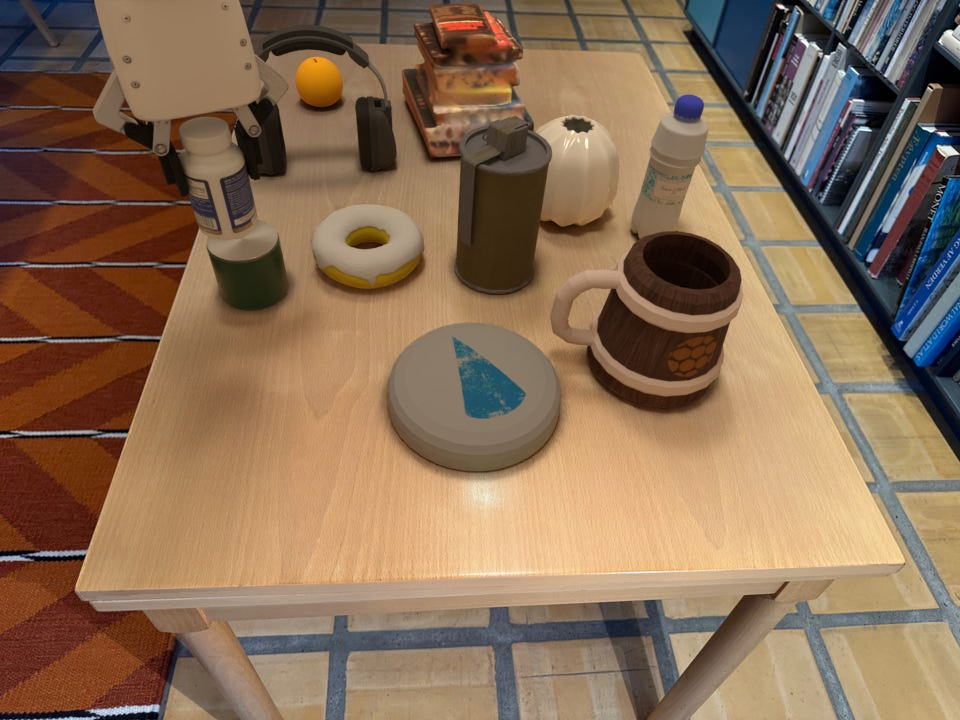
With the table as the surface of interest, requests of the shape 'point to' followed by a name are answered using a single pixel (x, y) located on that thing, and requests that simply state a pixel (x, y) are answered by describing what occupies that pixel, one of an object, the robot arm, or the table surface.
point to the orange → (319, 82)
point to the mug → (657, 318)
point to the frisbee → (473, 397)
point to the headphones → (370, 111)
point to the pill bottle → (216, 179)
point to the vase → (578, 170)
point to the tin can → (250, 268)
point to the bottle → (670, 167)
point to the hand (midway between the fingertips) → (216, 178)
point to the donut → (371, 264)
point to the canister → (500, 205)
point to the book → (462, 76)
